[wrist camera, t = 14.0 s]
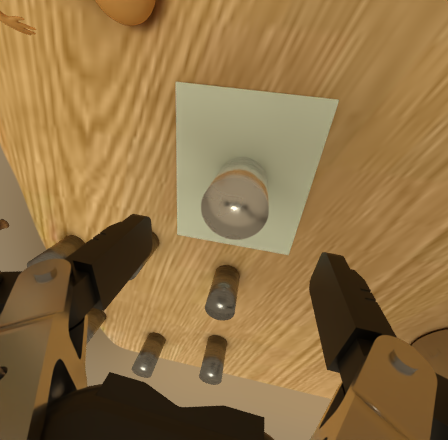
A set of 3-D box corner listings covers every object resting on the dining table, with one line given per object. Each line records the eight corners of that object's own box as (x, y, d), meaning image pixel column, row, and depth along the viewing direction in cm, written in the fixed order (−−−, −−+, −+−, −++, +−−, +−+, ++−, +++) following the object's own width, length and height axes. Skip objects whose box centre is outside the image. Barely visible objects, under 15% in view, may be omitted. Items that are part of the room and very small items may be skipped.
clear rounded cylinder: (272, 160, 17) (275, 184, 12) (262, 207, 19) (261, 244, 14) (220, 153, 18) (202, 173, 13) (216, 200, 20) (199, 233, 15)
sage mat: (336, 99, 15) (339, 99, 15) (288, 251, 22) (288, 255, 22) (178, 82, 16) (175, 81, 16) (179, 231, 23) (177, 234, 23)
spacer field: (245, 247, 23) (240, 280, 18) (224, 359, 34) (218, 396, 30) (55, 212, 25) (11, 235, 21) (94, 328, 36) (71, 358, 32)
